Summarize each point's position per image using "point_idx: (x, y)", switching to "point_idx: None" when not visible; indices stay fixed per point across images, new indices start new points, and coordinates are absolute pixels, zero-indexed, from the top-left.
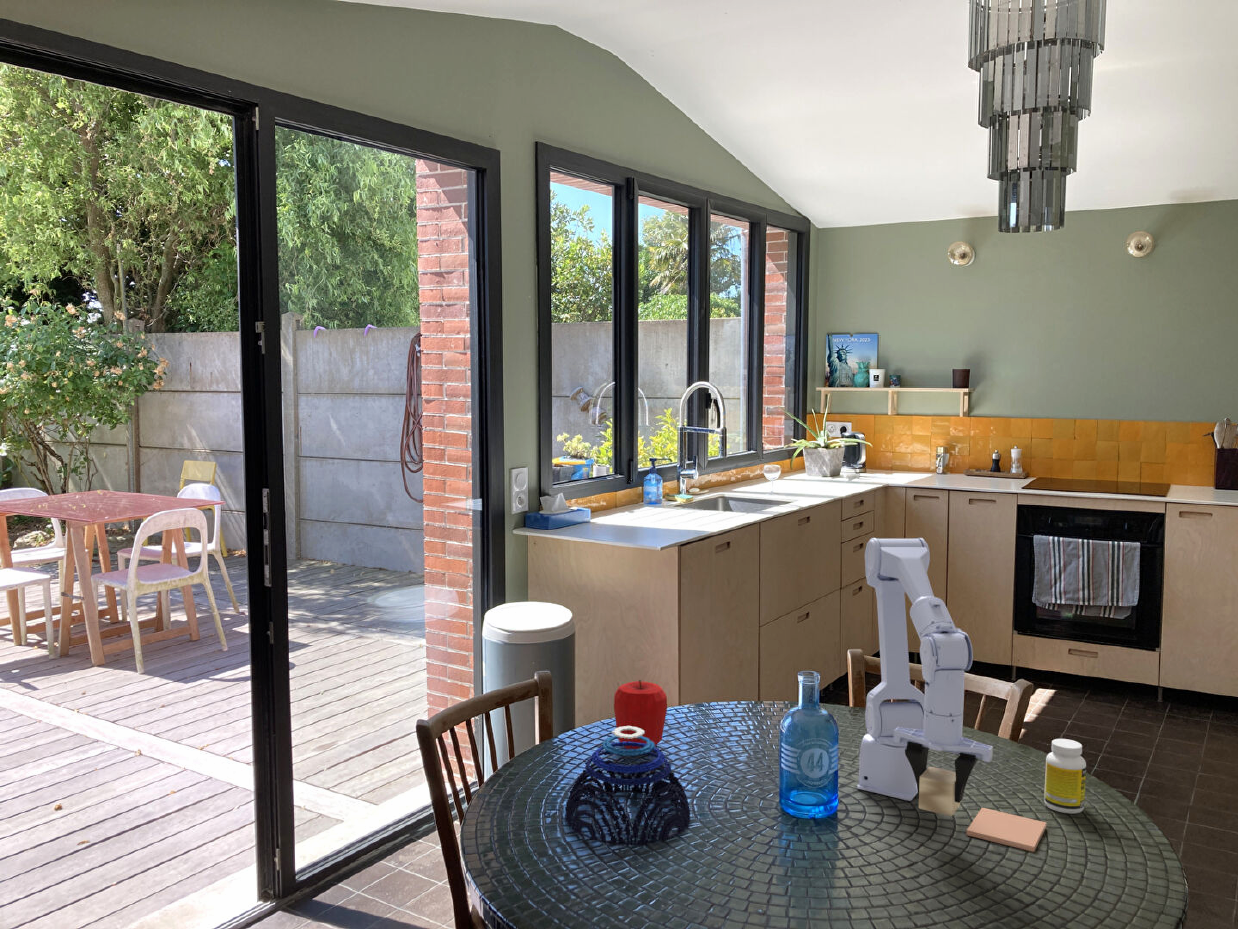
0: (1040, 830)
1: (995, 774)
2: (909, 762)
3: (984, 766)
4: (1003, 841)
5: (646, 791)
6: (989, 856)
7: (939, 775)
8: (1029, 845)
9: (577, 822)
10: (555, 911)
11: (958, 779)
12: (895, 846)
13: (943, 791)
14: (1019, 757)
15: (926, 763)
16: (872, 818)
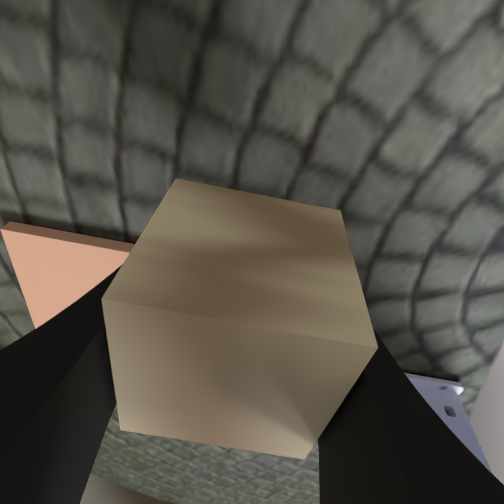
0: (32, 310)
1: (190, 456)
2: (498, 482)
3: (211, 469)
4: (86, 240)
5: None
6: (96, 149)
7: (231, 392)
8: (12, 232)
9: None
10: None
11: (56, 353)
12: (405, 95)
13: (194, 261)
14: (170, 489)
15: (322, 478)
16: (452, 266)
